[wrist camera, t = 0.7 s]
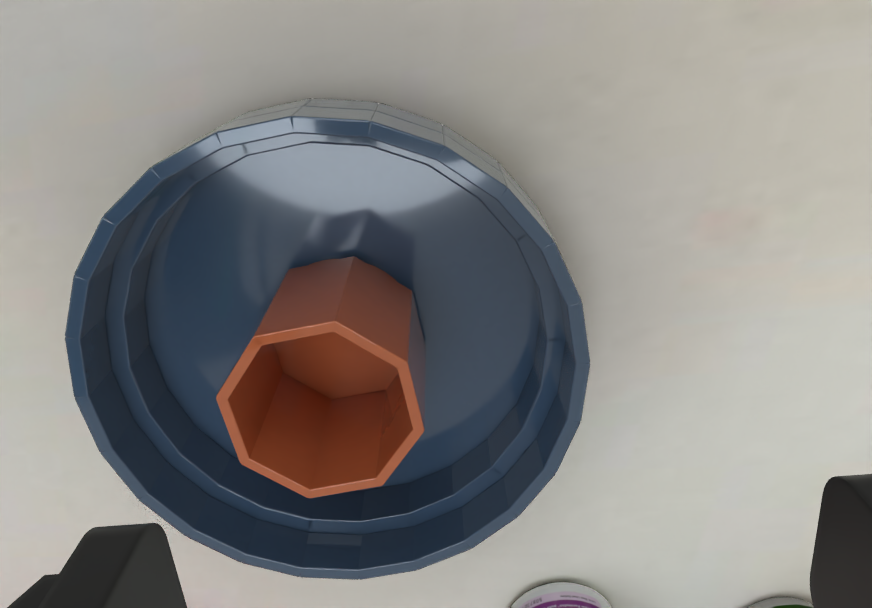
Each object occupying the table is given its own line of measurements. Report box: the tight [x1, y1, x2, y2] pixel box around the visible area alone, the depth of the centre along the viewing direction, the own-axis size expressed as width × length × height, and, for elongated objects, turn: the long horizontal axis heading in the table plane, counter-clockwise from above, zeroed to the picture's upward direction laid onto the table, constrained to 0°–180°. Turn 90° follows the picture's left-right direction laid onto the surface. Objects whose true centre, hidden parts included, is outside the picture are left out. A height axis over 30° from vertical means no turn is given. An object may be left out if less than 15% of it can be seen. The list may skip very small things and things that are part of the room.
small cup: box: [216, 256, 426, 498], centre depth 25 cm, size 6×6×6 cm
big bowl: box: [65, 98, 590, 580], centre depth 26 cm, size 17×17×4 cm
